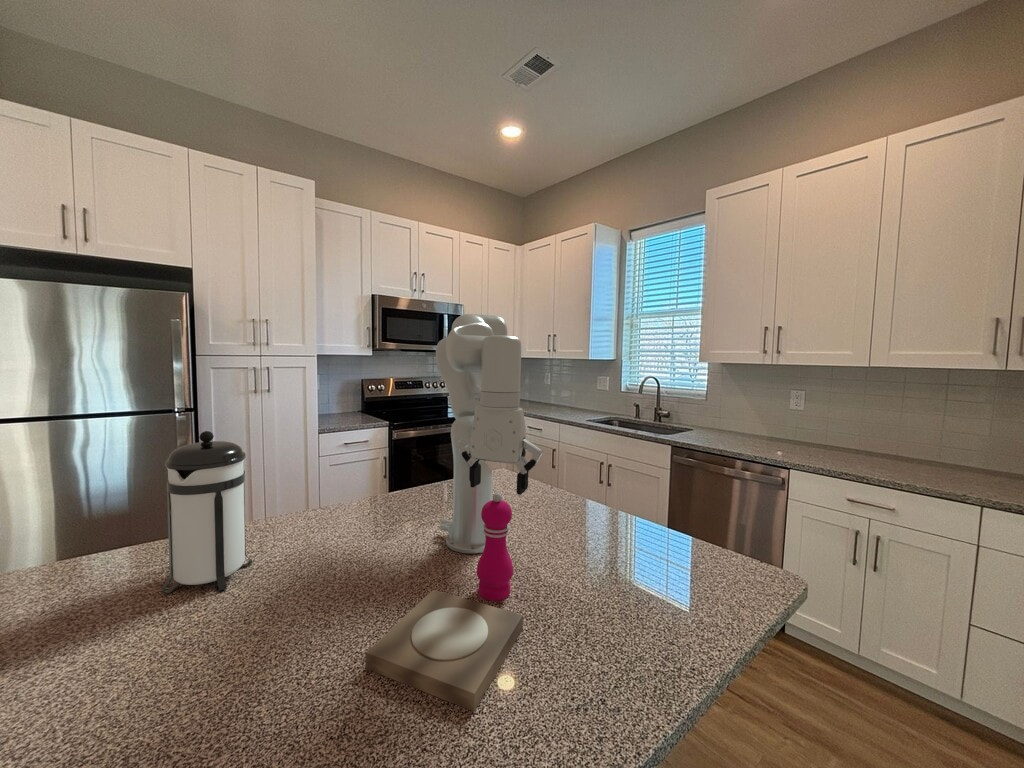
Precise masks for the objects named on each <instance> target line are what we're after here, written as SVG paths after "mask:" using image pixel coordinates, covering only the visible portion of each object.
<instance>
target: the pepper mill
mask: <svg viewBox="0 0 1024 768" xmlns="http://www.w3.org/2000/svg"><path fill="white" fill-rule="evenodd" d="M481 518H482V520H483V522H484V523H485V524H484V526H483V528H484V530H483V533H484V534H485V537H486V541H485V548H484V551H483V552H482V553H481V555H480V557H479V559H478V562H477V566H476V576H477V579H479V582H478V594H479V596H480V597H481V598H482V599H483V600H487V601H490V602H491V601H492V602H497V601H498V602H499V601H503V600H504V599H506V598H508V597H509V596H510V594H511V582H510V580H512V577H513V576H514V565H513V561H512V558H511V555H510V553H509V551H508V548H507V547H508V546H507V535H509V533H510V530H509V529H510V525H509V523H510V522H511V521H512V518H513V510H512V508H511V505H509V503H508V502H506V501H505V500H502V494H501V493H500V492H495V493H493V494H492V500H491V501H489V502H487V503H486V504H485V505H484V506H483V508H482V511H481Z"/></svg>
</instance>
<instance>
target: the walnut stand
mask: <svg viewBox="0 0 1024 768" xmlns="http://www.w3.org/2000/svg"><path fill="white" fill-rule="evenodd" d="M523 626H524V614H521V613H518V612H513V611H510V610H506V609H503V608H499V607H496V606H492V605H489V604H485V603H482V602H479V601H476V600H471V599H468V598H464V597H461V596H457V595H453V594H452V593H447V592H443V591H441V590H440V591H439V590H436V589H432V590H431V591H430V592H429V593H427V594H426V596H425V597H423V599H421V601H419V602H418V603H417V604H416V605H415V606H414V607H413V608H412V609H411V610H410V611H408V613H406V614H405V615H404V617H402V618H401V619H400V620H399V621H398V622H397V623H396V624H395V625H394V626H393V627H391V628H390V630H388V631H387V632H386V633H385V634H384V635H382V637H380V639H379V640H377V641H376V643H374V644H373V645H372V646H371V647H370V648H369V649H368V650H367V651H366V652H365V670H368V671H371V672H374V673H376V674H378V675H381V676H383V677H386V678H389V679H391V680H394V681H395V682H399V683H401V684H403V685H407V686H409V687H411V688H414V689H416V690H418V691H421V692H423V693H426V694H429V695H431V696H433V697H436V698H439V699H441V700H444V701H447V702H450V703H451V704H454V705H457V706H459V707H461V708H464V709H467V710H469V711H471V712H475V711H476V710H477V707H478V706H479V705H480V702H481V701H482V699H483V697H484V696H485V694H486V693H487V690H488V689H489V688H490V685H491V684H492V682H493V680H494V678H495V677H496V675H497V674H498V672H499V671H500V668H501V666H502V665H503V663H504V661H505V660H506V657H508V654H509V653H510V651H511V649H512V648H513V646H514V644H515V643H516V642H517V640H518V638H519V636H520V634H521V633H522V630H523Z"/></svg>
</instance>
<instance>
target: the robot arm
mask: <svg viewBox="0 0 1024 768" xmlns="http://www.w3.org/2000/svg"><path fill="white" fill-rule="evenodd" d="M435 359H436V366H437V370H438V373H439V375H440V377H441V378H442V380H443V382H444V384H445V385H446V387H447V390H448V397H449V401H450V402H449V403H450V406H451V411H452V414H453V417H454V419H455V420H454V421H453V423H452V424H451V427H450V439H451V448H452V455H453V456H452V459H453V487H452V488H453V492H452V493H453V494H452V495H453V497H452V504H453V505H452V520H451V519H447V518H441V521H440V526H439V530H440V531H444V532H447V536H446V537H445V545H446V546H447V547H448V548H449V549H450V550H452V551H454V552H456V553H460V554H472V555H473V554H482V553H483V551H484V548H485V541H486V537H485V534H484V533H483V530H484V528H483V526H484V524H485V523H484V522H483V520H482V518H481V511H482V508H483V506H484V505H485V504H486V503H487V502H489V501H491V500H493V478H494V477H493V471H492V467H490V465H489V464H488V463H487V462H491V463H492V462H493V463H500V464H501V463H502V464H510V465H511V464H514V465H515V467H516V468H517V469H518V471H519V473H517V474H516V494H517V495H518V496H519V495H520V496H521V495H523V493H525V492H526V491H527V490H528V488H529V472H530V471H531V470H532V469H533V468H534V467H535V466H536V465H537V464H538V463H539V461H540V459H541V457H543V456H542V455H543V453H544V452H543V450H542V449H541V448H539V447H538V446H537V445H535V444H533V443H532V442H531V441H529V440H527V433H526V432H527V430H526V423H525V422H526V421H525V414H524V409H523V408H522V407H520V406H521V405H520V404H521V376H522V375H521V373H522V372H521V369H522V342H521V340H520V339H519V337H517V336H513V335H508V326H507V323H506V322H505V320H504V319H503V318H502V317H500V316H498V315H489V314H488V315H487V314H473V313H470V314H469V313H467V314H462V315H460V316H458V317H456V318H455V320H454V321H453V322H452V325H451V330H450V332H448V335H447V337H445V338H442V339H441V340H439V341H438V343H437V345H436V347H435ZM474 373H480V385H479V382H478V379H477V377H476V375H474ZM527 451H528V452H529V453H531V454H532V456H531V459H530V460H529V461H527V459H526V455H527Z"/></svg>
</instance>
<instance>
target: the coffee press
mask: <svg viewBox="0 0 1024 768" xmlns="http://www.w3.org/2000/svg"><path fill="white" fill-rule="evenodd" d="M214 436H215V435H214V433H213V432H212V431H209V430H204V431H203V432H201V433H200V435H199V440H200V441H201V442H193V443H190V444H185V445H181V446H180V447H177V448H176V449H174V450H172V451H171V452H170V453H169V455H168V458H167V459H166V460H164V466H165V468H166V469H167V479H166V491H167V497H166V498H167V525H168V526H167V531H168V535H167V537H168V561H169V562H168V563H169V564H168V565H169V568H168V569H169V570H168V571H169V575H168V577H167V579H166V581H165V582H164V584H163V585H162V587H161V590H162V592H163V593H164V594H166V595H167V594H171V593H172V592H173V591H174V590H175V589H176V588H177V587H178V586H179V585H188V586H196V585H204V584H208V583H212V582H213V584H214V586H215V589H216V590H215V591H216V592H217V593H219V592H222V591H225V590H227V588H228V587H227V586H228V585H227V581H226V578H227V577H229V576H231V575H233V574H234V573H235V572H237V571H238V570H239V569H240V568H241V567H242V566H244V567H246V568H247V567H249V566H250V567H251V565H252V563H253V560H252V559H251V558H250V557H249V556H248V555H247V549H246V513H245V512H246V511H245V510H246V508H245V507H246V504H245V503H246V502H245V499H246V495H245V481H246V473H245V472H246V471H245V469H244V462H245V459H246V456H247V455H246V452H244V451H243V449H242V447H241V446H240V445H238V444H236V443H234V442H231V441H224V440H223V441H220V440H215V441H214V440H213V439H214ZM245 557H246V558H248V561H247V563H244V562H245ZM172 580H173V581H175V582H174V583H173V584H172V586H171V587H169V589H167V590H166V588H168V585H169V584H170V583H171V581H172Z"/></svg>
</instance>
